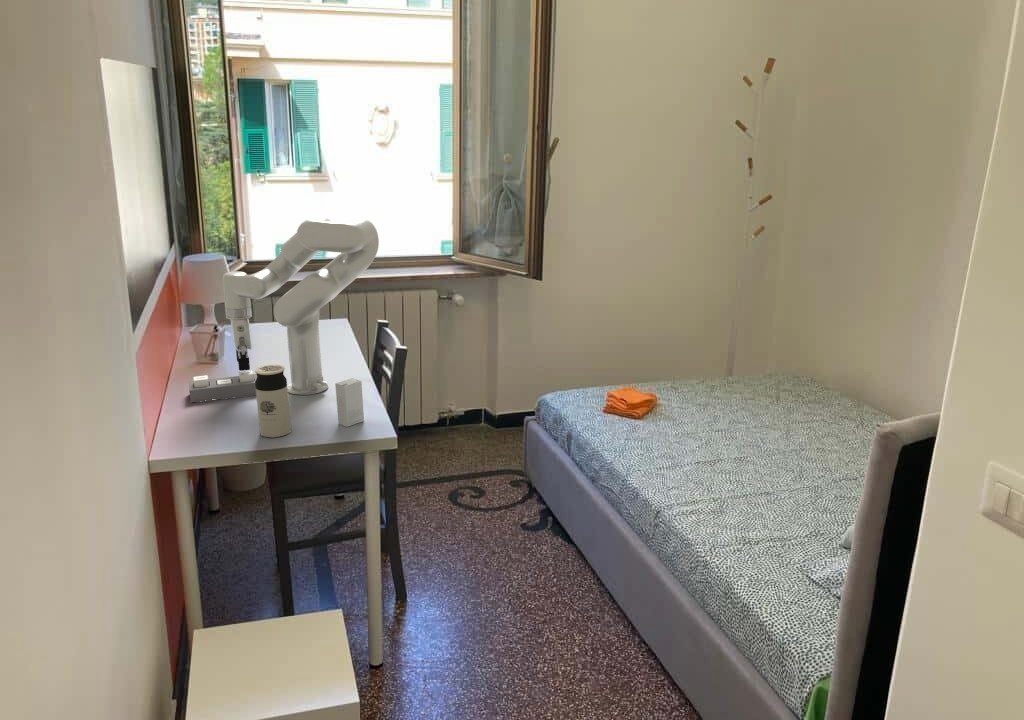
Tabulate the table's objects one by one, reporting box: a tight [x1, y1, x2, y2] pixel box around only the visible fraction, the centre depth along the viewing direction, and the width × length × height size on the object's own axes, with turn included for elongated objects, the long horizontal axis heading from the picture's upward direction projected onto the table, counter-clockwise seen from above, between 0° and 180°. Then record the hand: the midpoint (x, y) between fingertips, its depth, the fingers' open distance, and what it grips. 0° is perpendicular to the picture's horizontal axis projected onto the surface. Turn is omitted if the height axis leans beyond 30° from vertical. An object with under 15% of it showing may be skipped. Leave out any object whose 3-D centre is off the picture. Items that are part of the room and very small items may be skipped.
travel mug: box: [254, 364, 292, 439], centre depth 206 cm, size 8×8×18 cm
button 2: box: [238, 369, 254, 382], centre depth 240 cm, size 4×4×3 cm
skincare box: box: [335, 377, 365, 428], centre depth 214 cm, size 6×4×12 cm
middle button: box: [217, 379, 232, 385], centre depth 238 cm, size 4×4×3 cm
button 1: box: [193, 374, 209, 388], centre depth 235 cm, size 4×4×3 cm
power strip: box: [188, 373, 257, 403], centre depth 238 cm, size 21×9×4 cm, turn 112°
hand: (243, 365), depth 243 cm, fingers open, 9 cm apart
